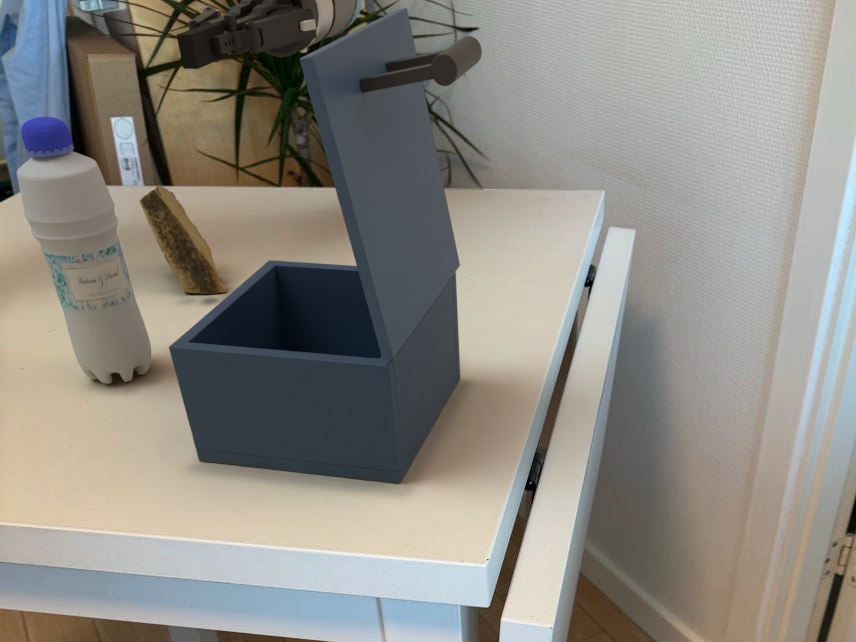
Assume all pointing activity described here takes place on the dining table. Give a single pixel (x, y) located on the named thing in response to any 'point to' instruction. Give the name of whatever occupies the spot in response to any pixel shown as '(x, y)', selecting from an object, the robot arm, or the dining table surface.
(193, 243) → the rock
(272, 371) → the blue-grey open box
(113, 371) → the bottle
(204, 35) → the robot arm
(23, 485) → the dining table surface
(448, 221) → the lid
